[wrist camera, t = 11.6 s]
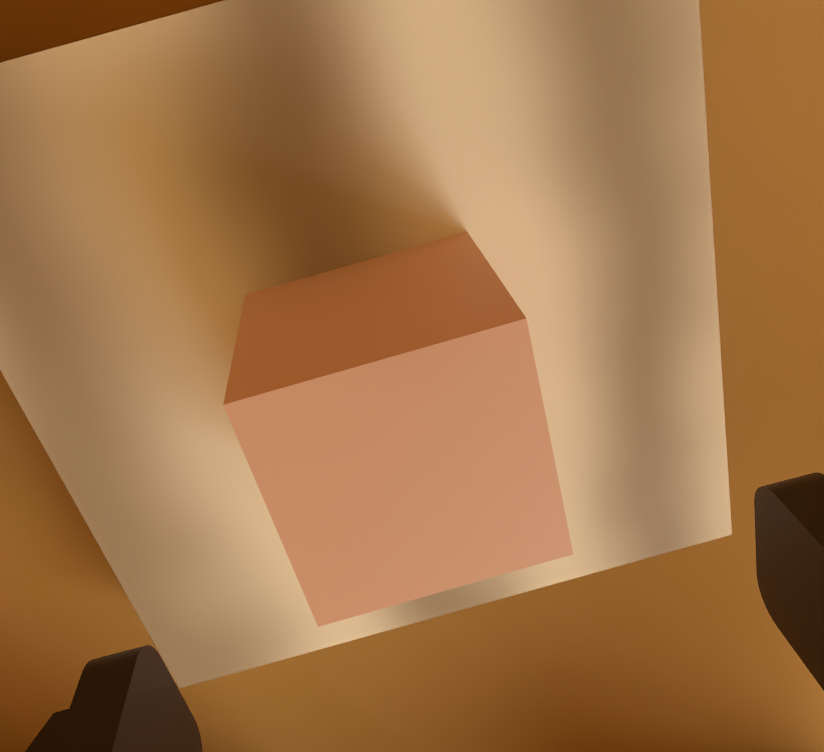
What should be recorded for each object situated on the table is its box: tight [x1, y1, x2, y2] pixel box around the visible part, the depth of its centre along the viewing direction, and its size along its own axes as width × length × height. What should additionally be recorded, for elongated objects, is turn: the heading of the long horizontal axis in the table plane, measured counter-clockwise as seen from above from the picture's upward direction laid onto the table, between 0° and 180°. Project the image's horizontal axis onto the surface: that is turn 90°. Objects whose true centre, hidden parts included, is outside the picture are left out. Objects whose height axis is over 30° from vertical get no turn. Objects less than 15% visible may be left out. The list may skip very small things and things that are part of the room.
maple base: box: [0, 0, 732, 688], centre depth 19 cm, size 16×16×3 cm
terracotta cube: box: [223, 232, 573, 627], centre depth 16 cm, size 5×5×5 cm
